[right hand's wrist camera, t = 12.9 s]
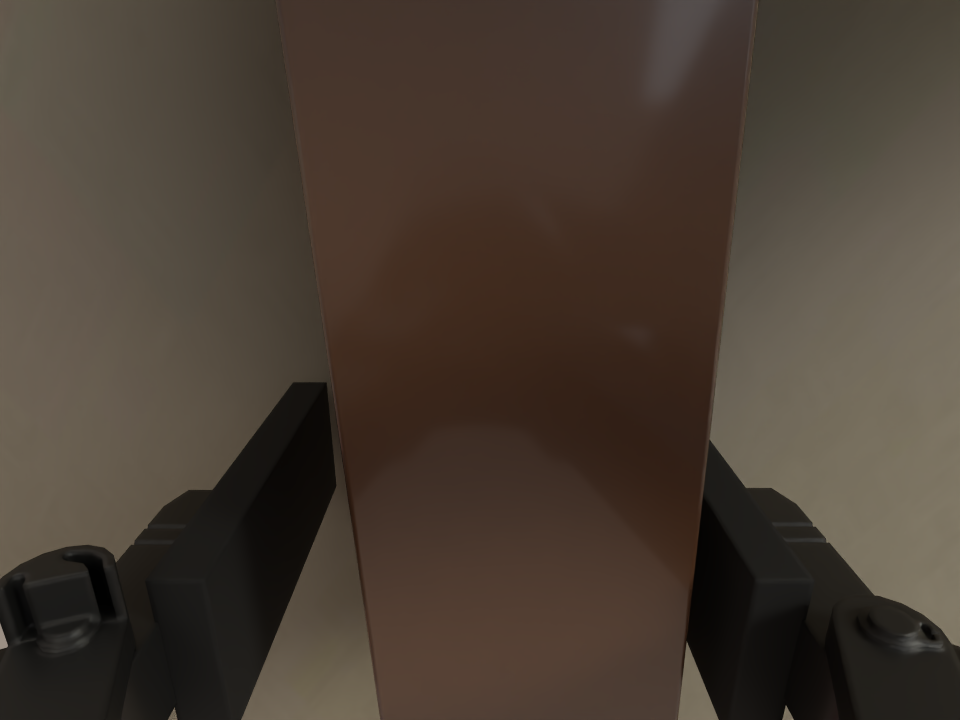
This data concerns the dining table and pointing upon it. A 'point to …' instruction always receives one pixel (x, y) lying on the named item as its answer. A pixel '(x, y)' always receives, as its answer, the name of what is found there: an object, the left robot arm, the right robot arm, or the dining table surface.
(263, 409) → the dining table surface
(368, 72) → the walnut block
